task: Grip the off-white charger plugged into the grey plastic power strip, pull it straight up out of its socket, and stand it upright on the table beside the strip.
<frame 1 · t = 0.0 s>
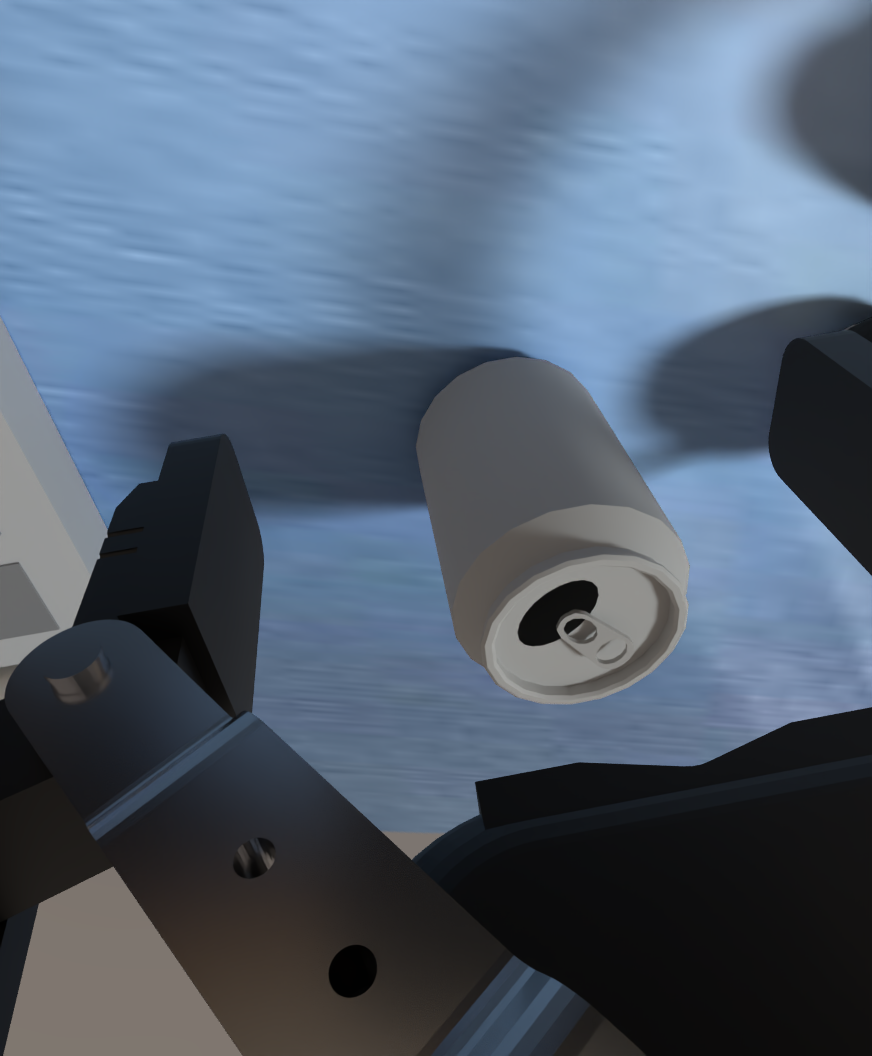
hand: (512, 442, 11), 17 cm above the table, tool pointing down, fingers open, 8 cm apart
can: (501, 428, 31), on the table
power strip: (27, 572, 32), on the table
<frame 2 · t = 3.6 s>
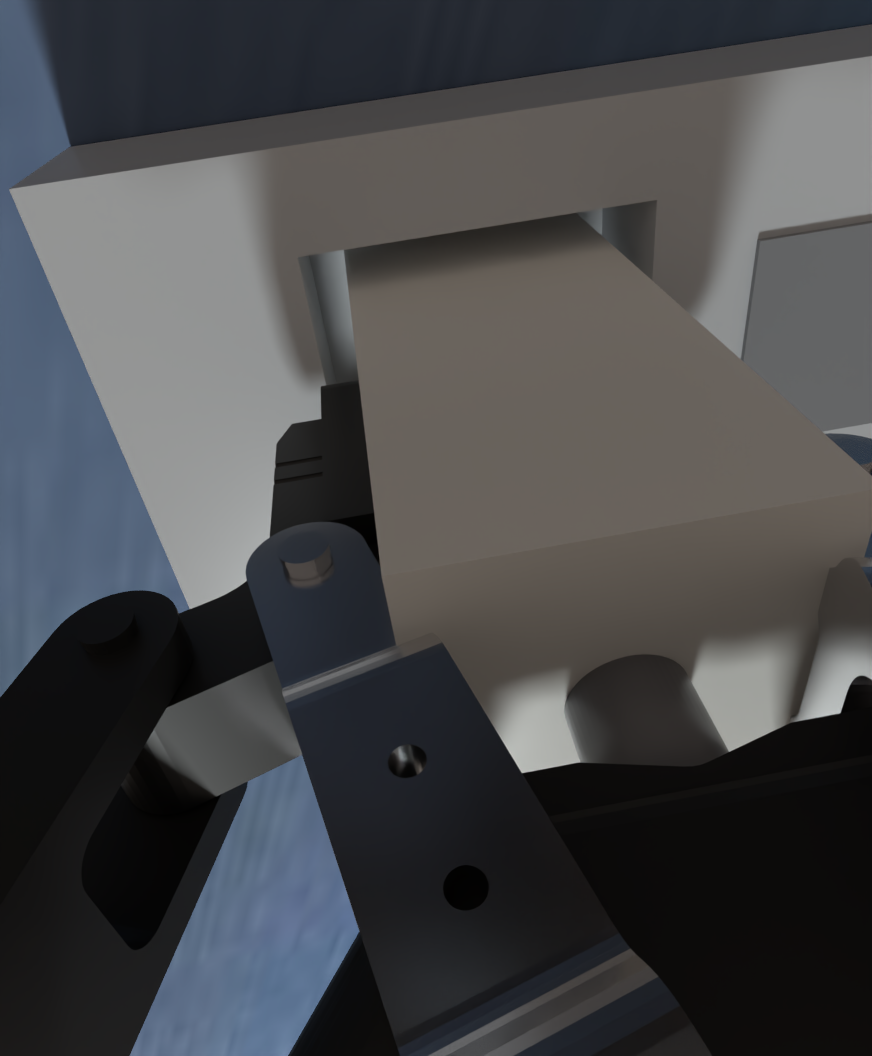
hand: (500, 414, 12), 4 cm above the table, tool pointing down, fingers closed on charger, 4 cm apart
charger: (467, 334, 14), resting on power strip, touching gripper
power strip: (711, 283, 15), on the table
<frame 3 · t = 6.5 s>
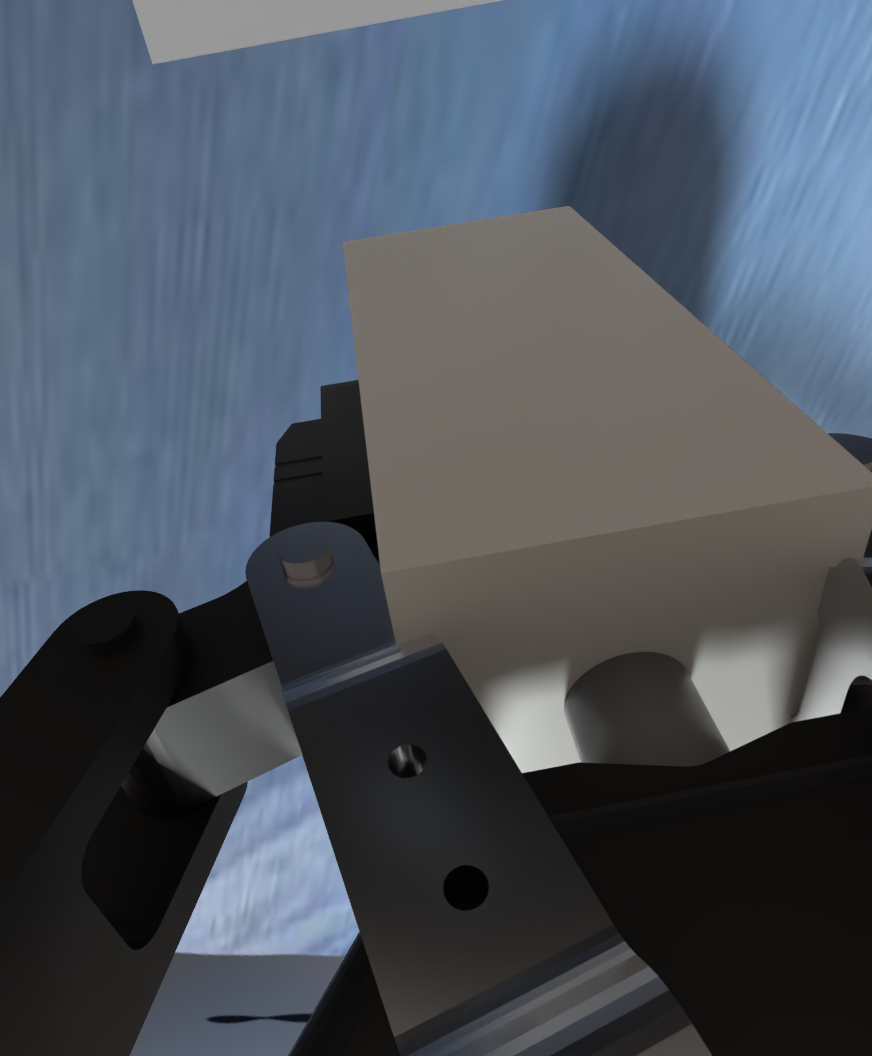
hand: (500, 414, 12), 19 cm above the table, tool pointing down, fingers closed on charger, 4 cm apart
charger: (467, 333, 14), point 16 cm above the table, touching gripper
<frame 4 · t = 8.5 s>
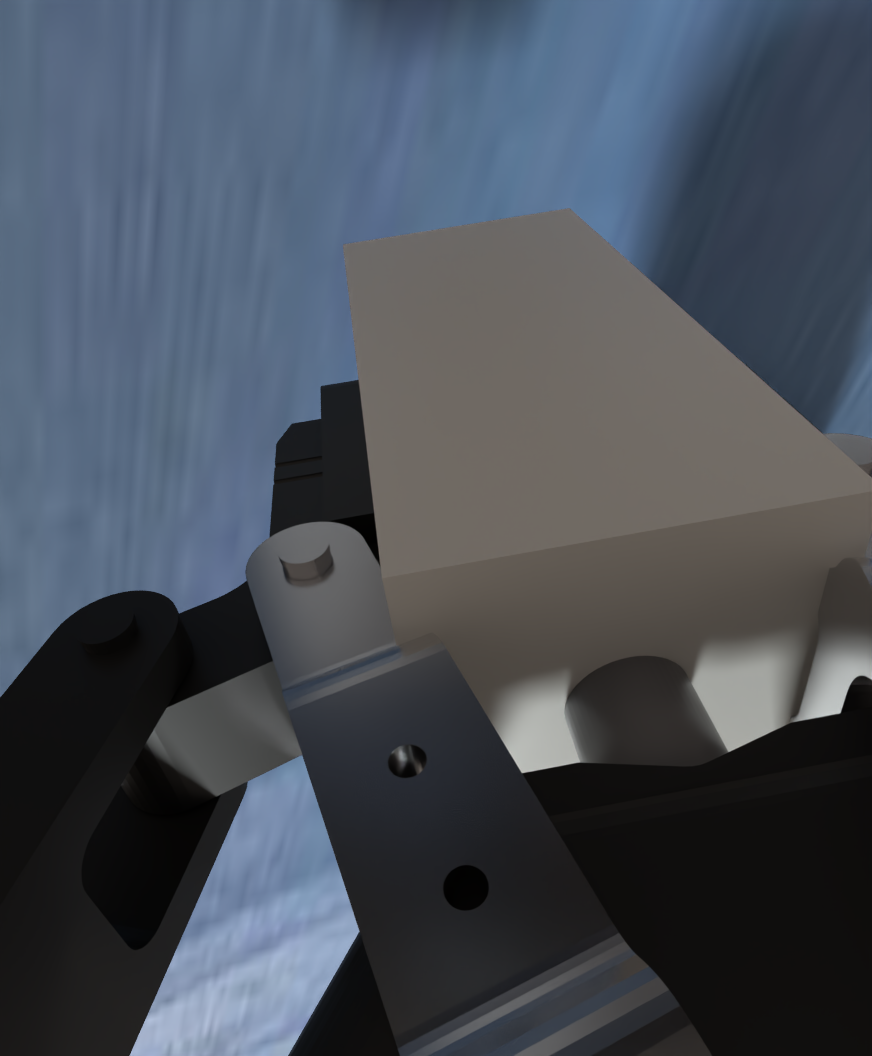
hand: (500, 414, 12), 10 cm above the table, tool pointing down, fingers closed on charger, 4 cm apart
charger: (467, 335, 14), point 6 cm above the table, touching gripper
when the fingers open (5 cm above the table, at t = 9.8 s): charger drops 1 cm, on the table.
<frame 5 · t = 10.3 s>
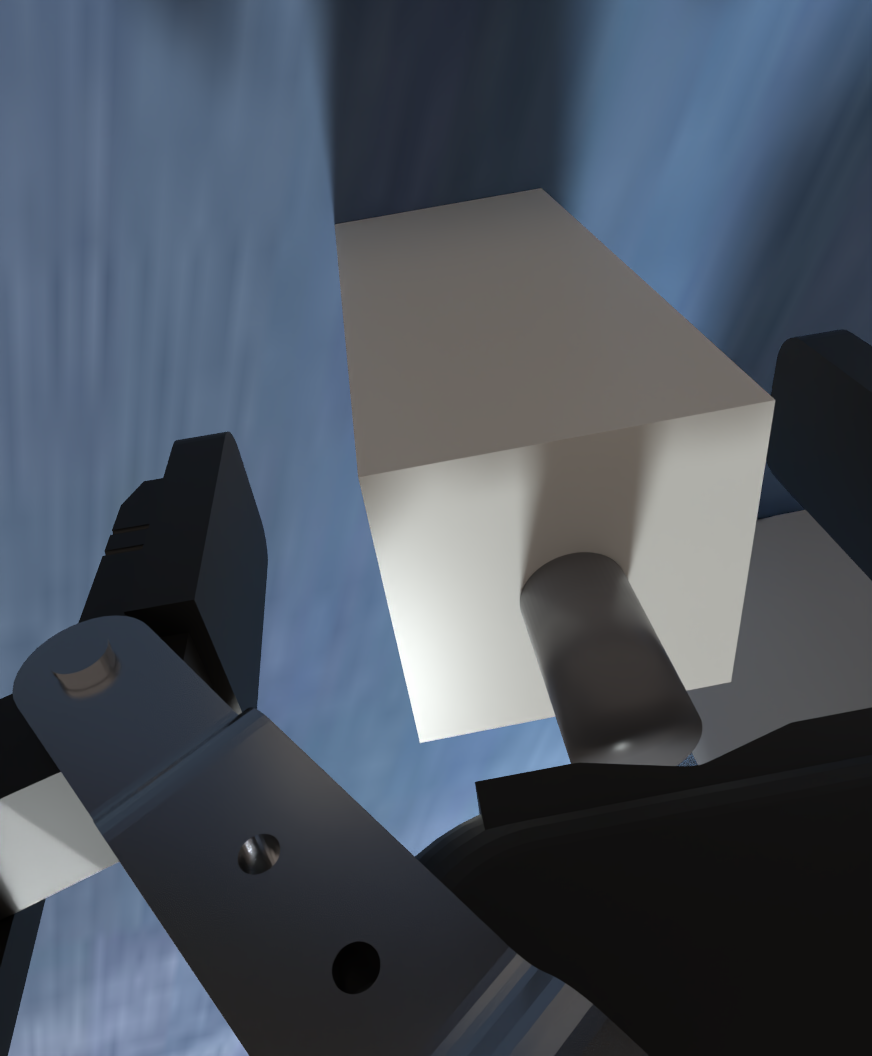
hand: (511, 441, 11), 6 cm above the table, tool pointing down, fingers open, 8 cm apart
charger: (451, 307, 15), on the table
can: (756, 591, 22), on the table
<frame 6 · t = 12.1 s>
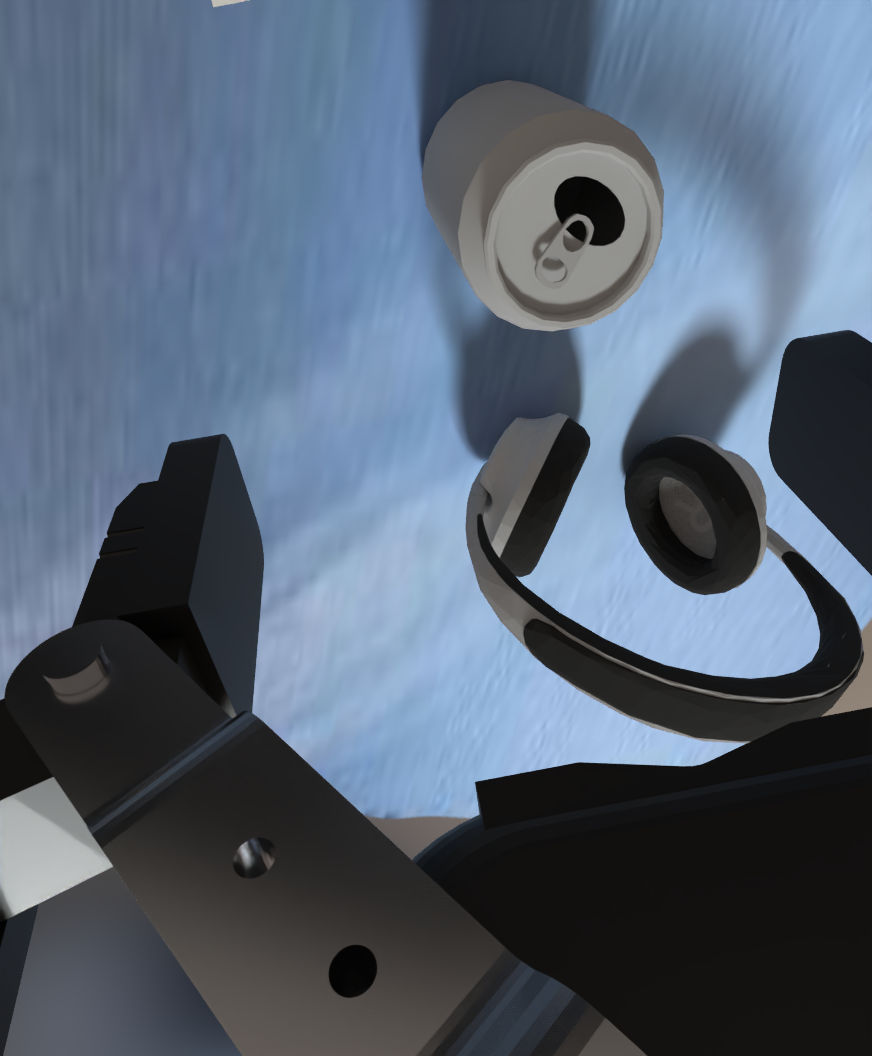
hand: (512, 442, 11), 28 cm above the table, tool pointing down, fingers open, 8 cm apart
headphones: (588, 460, 45), on the table
can: (498, 170, 35), on the table
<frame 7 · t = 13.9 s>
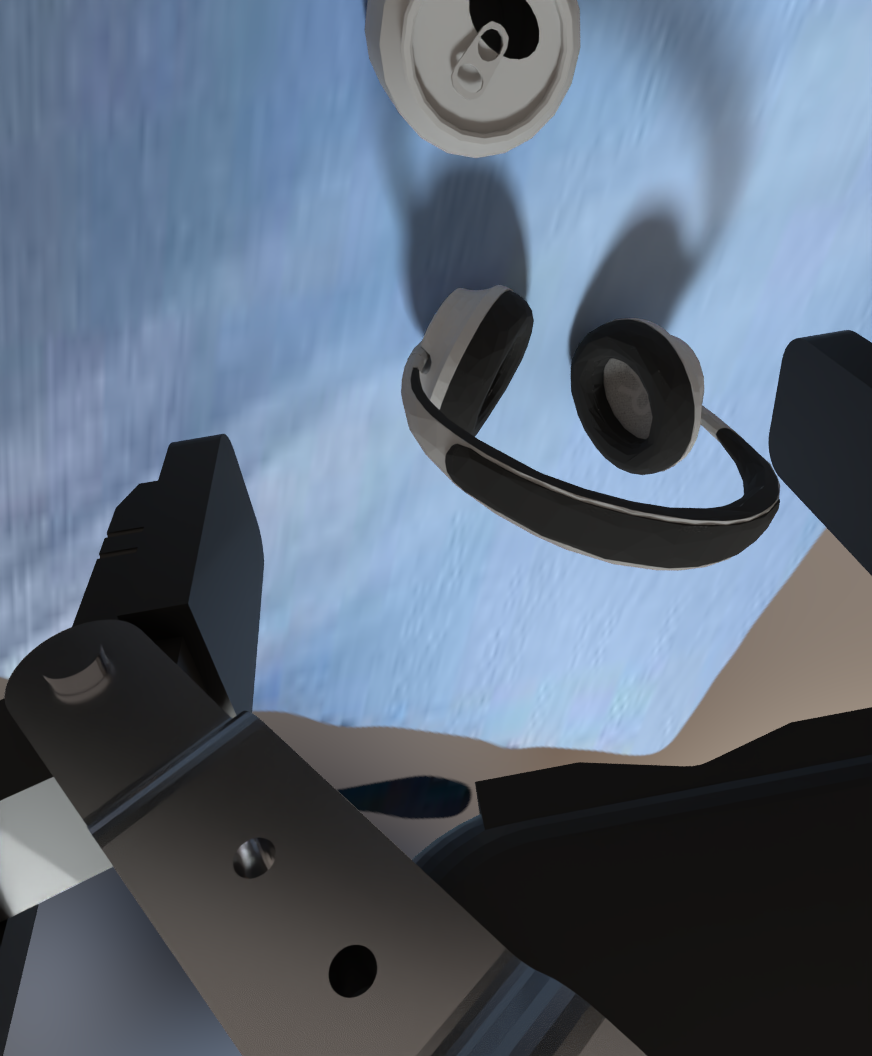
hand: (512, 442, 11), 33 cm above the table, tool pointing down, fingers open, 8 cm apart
headphones: (536, 347, 46), on the table
can: (441, 29, 36), on the table
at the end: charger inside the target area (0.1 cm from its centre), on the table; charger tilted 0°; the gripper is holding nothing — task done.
